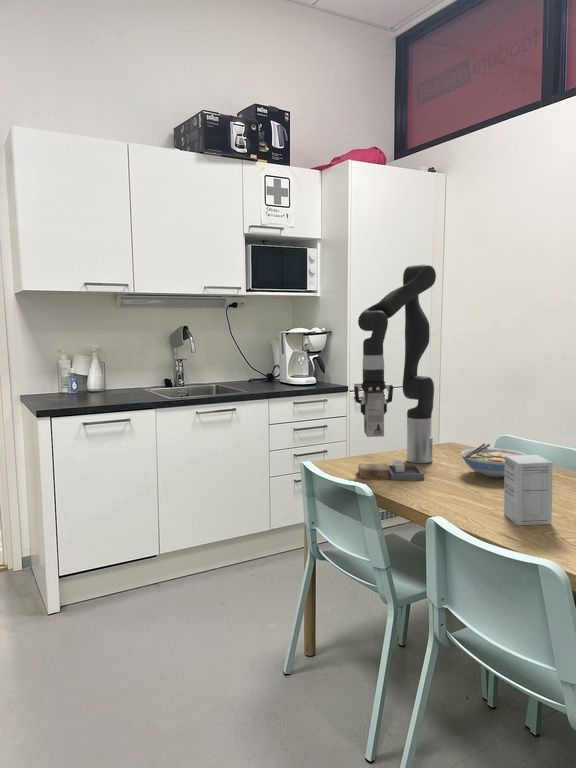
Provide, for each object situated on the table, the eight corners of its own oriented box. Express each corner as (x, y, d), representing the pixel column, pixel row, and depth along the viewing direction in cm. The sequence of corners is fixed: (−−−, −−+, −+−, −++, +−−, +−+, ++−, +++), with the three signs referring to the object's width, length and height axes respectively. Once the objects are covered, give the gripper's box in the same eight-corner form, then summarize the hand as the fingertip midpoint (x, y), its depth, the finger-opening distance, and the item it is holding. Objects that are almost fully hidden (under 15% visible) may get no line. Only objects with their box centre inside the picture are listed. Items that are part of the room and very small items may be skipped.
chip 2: (394, 474, 202) (402, 474, 202) (395, 477, 198) (404, 476, 198) (394, 462, 201) (402, 462, 201) (395, 465, 198) (404, 465, 197)
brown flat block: (386, 471, 207) (386, 463, 207) (389, 478, 198) (389, 470, 198) (358, 472, 207) (358, 464, 207) (360, 478, 198) (360, 470, 198)
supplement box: (536, 513, 159) (538, 454, 158) (552, 524, 150) (554, 462, 148) (502, 514, 159) (503, 455, 157) (516, 525, 150) (518, 463, 148)
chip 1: (392, 470, 206) (400, 470, 206) (393, 473, 202) (402, 473, 202) (392, 459, 206) (400, 459, 206) (393, 462, 202) (402, 462, 202)
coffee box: (363, 432, 209) (362, 388, 207) (380, 431, 209) (380, 388, 207) (366, 437, 200) (366, 391, 198) (385, 436, 200) (384, 391, 198)
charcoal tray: (416, 470, 209) (416, 464, 208) (424, 479, 196) (424, 474, 195) (386, 470, 209) (386, 465, 209) (391, 480, 196) (391, 474, 196)
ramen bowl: (517, 488, 183) (518, 463, 183) (449, 478, 197) (449, 455, 196) (537, 472, 203) (538, 449, 202) (474, 463, 217) (474, 442, 216)
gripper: (392, 366, 205) (392, 412, 207) (351, 367, 206) (352, 413, 207) (395, 368, 198) (395, 415, 200) (353, 369, 198) (354, 416, 200)
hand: (373, 414), depth 203 cm, fingers closed on coffee box, 6 cm apart
